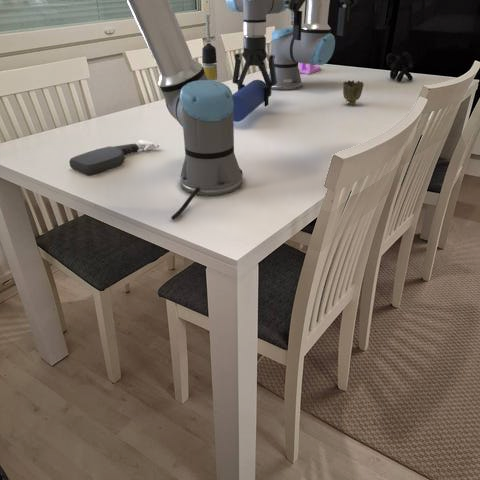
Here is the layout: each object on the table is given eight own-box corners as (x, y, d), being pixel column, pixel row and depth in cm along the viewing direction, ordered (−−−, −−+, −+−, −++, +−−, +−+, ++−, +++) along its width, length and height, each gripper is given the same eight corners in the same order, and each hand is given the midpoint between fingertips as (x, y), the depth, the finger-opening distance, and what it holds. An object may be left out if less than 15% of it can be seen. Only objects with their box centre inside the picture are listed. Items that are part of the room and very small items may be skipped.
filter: (220, 99, 177) (217, 15, 161) (206, 100, 176) (202, 16, 160) (215, 96, 182) (212, 14, 166) (202, 97, 180) (197, 14, 164)
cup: (338, 105, 167) (340, 83, 162) (344, 100, 172) (346, 79, 168) (358, 107, 164) (360, 85, 159) (363, 103, 169) (366, 81, 165)
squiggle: (400, 92, 202) (376, 71, 205) (417, 76, 202) (392, 56, 205) (405, 81, 191) (380, 59, 194) (423, 64, 191) (397, 42, 194)
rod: (247, 122, 144) (247, 96, 139) (223, 120, 146) (222, 94, 142) (268, 103, 163) (269, 80, 158) (247, 102, 165) (247, 78, 161)
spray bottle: (67, 168, 120) (139, 144, 136) (91, 178, 114) (163, 151, 130) (65, 157, 118) (137, 134, 134) (89, 167, 112) (162, 142, 128)
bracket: (309, 74, 214) (310, 58, 210) (299, 72, 217) (300, 57, 213) (322, 69, 223) (323, 54, 219) (312, 68, 225) (313, 53, 222)
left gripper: (359, -61, 111) (349, 32, 123) (271, -61, 102) (269, 39, 114) (379, -63, 106) (367, 35, 117) (288, -63, 97) (284, 43, 108)
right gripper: (288, 35, 149) (285, 104, 160) (229, 33, 155) (230, 99, 167) (282, 38, 143) (280, 109, 154) (221, 36, 149) (223, 105, 161)
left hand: (319, 37), depth 115 cm, fingers open, 13 cm apart
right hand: (254, 104), depth 161 cm, fingers closed on rod, 8 cm apart
